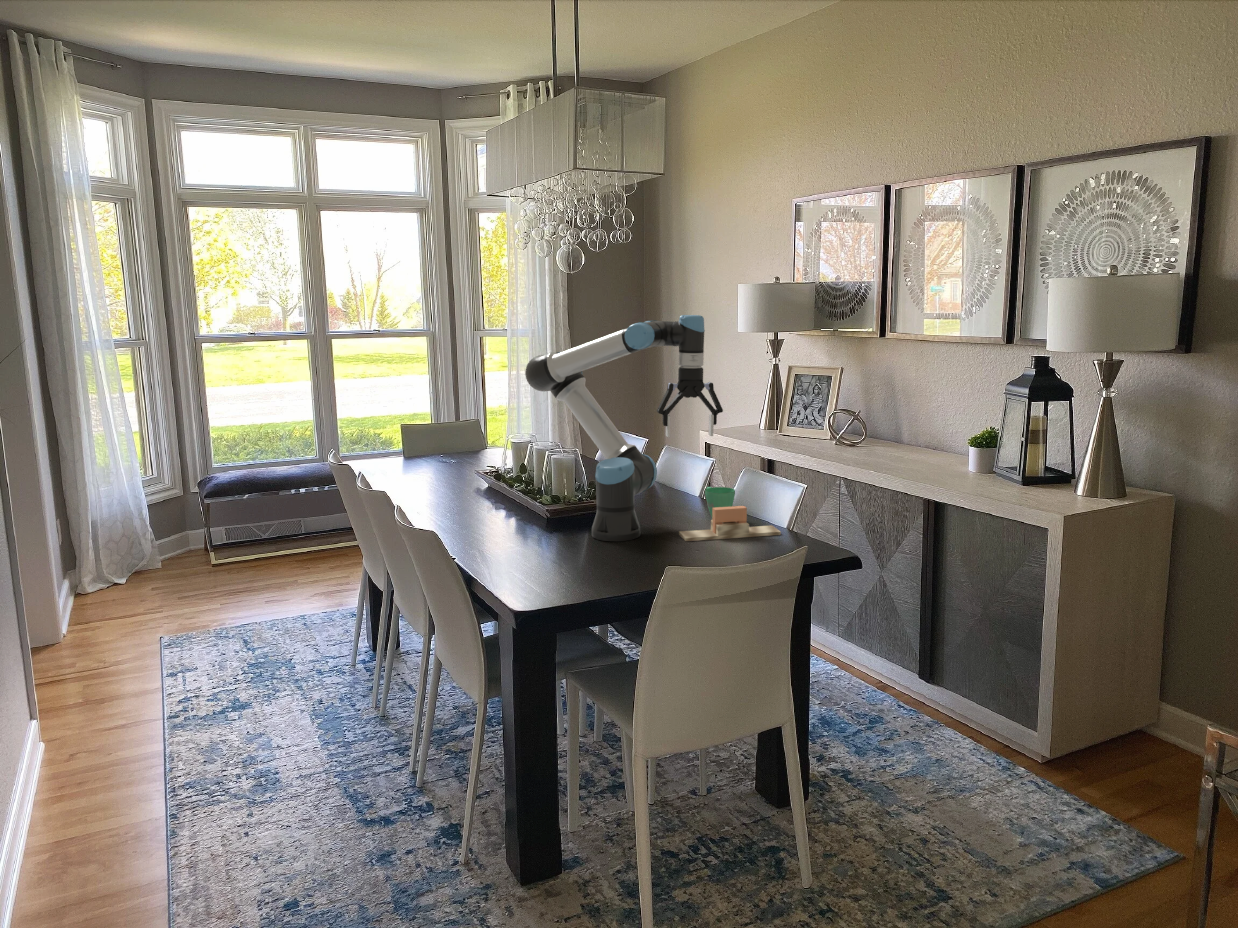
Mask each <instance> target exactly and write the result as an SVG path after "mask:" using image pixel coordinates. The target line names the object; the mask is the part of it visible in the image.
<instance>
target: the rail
mask: <svg viewBox="0 0 1238 928" xmlns="http://www.w3.org/2000/svg"><path fill="white" fill-rule="evenodd" d="M781 533H782V531H780V530H779V529H778V528H777V527H775V526H774V525H771V524H770V525H759V526H758V525H757V526H750V523H748V522H746V523H737V522H736V521H734V522H722V524H718V525H716V534H715V533H714V532H713V520H712V519H710V529H698V530H696V529H695V530H683V531H682V530H681V531H678V535H679V536H680V537H681V538H682V540H684V542H692V541H693V542H694V541H708V540H709V541H710V540H727V539H738V538H740V539H741V538H754V537H757V538H758V537H769V536H781V535H782V534H781Z"/></svg>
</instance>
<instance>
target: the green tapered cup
mask: <svg viewBox="0 0 1238 928" xmlns="http://www.w3.org/2000/svg"><path fill="white" fill-rule="evenodd" d="M735 495H736V489H734V488H731V487H727V486H714V487H712V486H707V487H706V488H705V490H704V500H705V503H706V506H707V509H708V511H709V514H710V517H711V518H712V508H716V507H732V506H734V500H735Z"/></svg>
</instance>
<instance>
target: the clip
mask: <svg viewBox="0 0 1238 928" xmlns="http://www.w3.org/2000/svg"><path fill="white" fill-rule="evenodd" d="M747 509H748V508H747V507H746V506H744V505H737V506H734V505H733V506H732V507H716V508H712V517H711V520H713V532H714V533H715V534H716V525H718V524H722V522H734V521H736V522H737V523H747V521H748V519H747V518H748V517H747V513H748V511H747Z"/></svg>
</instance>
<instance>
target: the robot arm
mask: <svg viewBox="0 0 1238 928" xmlns="http://www.w3.org/2000/svg"><path fill="white" fill-rule="evenodd" d="M705 331H706V330H705V319H704V316H702V315H700V314H682V315H680V316H679V320H677V321H669V320H654V319H653V320H646V321H644V322H641V321H639V322H635V323H632V324H630V325H629V326H628V327H626V328H623V329H621V330H618V331H615V332H612V333H609V334H607V335H604V336H602V337H599V338H596V339H594V340H591V341H588V342H585V343H582V344H580V345H577V346H575V347H572V348H569V349H566V350H564V351H558V352H555V351H552V352H549V353H547V354H546V353H545V354H540V355H537V356H534V357H533V358H531V359H530V360H529V361H528V362H527V365H526V366H525V370H524V371H525V374H524V375H525V379H526V381H527V383H528V385H529V386H530V387H531V388H533V389H534V390H535V391H539V392H551V394H552V395H553V396H554V398H555V400H557V401H560V402H564V404H565V405H566V406H567V408H568V409H569V410H570V412H571V413H572V415H573V416H574V417H575V419H576V420H577V422H578V423H579V424H580V426H581V427H582V428H583V429H584V431H585V432H586V434H587V435H588V437H590V439H591V441H592V442H593V444H594V445H595V446H596V448H597V449H598V450H599V451H600V453H601V454H602V456H603V457H604V458H605V459H604V460H601V461H600V462H598V463H597V464H596V467H595V474H594V476H595V488H596V489H595V490H596V491H595V493H596V494H595V495H596V514H595V517H594V519H593V523H592V526H591V537H592V538H593V539H595V540H598V541H604V542H625V541H631V540H634V539H637V538H639V537H641V533H642V532H641V530H642V529H641V526H640V523H639V519H638V516H637V513H636V511H635V496H636V495H639V494H640V493H641V494H642V493H644V492H646V491H647V490H648V489H650V488H651V487H653V485H654V484H655V482H656V480H657V476H658V467H657V464H656V463H655V461H654V459H653V458H652V457H650V456H649V455H648V454H644V453H641V451H640V450H639V449H638V447H637V445H635V444H629V443H628V442H627V440H626V439H625V438H624V436H623V435H622V433H621V432H620V431H619V430H618V428H617V427H616V425H615V424H614V423H613V421H612V420H611V419H610V418H609V416H608V414H606V412H605V411H604V409H603V408H602V407H601V406H600V404H599V403H598V401H597V400H596V399H595V397H594V396H593V394H592V393H591V392H590V391H589V389H588V387H586V382H587V381H586V380H587V379H586V377H585V376H584V375H583V374H584V372H583V371H586V370H589V369H592V368H595V367H598V366H599V365H600V366H601V365H603V364H606V363H608V362H611V361H613V360H617V359H620V358H623V357H626V356H628V355H631V354H634V353H637V352H639V351H643V350H646V349H649V348H656V347H678V366H680V367H678V372H677V373H678V374H677V375H678V376H677V377H678V379H677V383H672V382H668V383H667V389H666V391H665V393H664V395H663V397H662V399H661V401H660V403H659V405H658V407H657V409H656V413H658V414H660V415H662V425H663V427H665V437H667V438H671V415H670V413H671V412H672V411H673V410H674V408H675V407H676V406H677V405H678V403H680V401H681V400H682V399H683V398H687V399H689V398H693V399H694V398H696V399H697V397H698V398H699V399H700V401H701V402H702V403H703V404H704V405H705V406H706V408H707V409H708V410H709V412H710V413H709V414H708V436H710V437H714V426H716V425H717V421H718V420H717V417H718V415H719V414H720V413H723V412H724V409H723V407H722V405H721V403H720V401H719V398H718V396H717V394H716V392H715V389H714V388H715V387H714V383H713V382H711V381H708V382H706V383H704V367H703V366H704V359H705V357H704V355H705V354H704V353H705V350H704V348H705V347H704V345H705ZM676 389H677V391H678V392H677V393H676V395H675V396H674V397H673V399H672V400H671V401H670V398H671V395H672V394H673V391H675V390H676ZM704 389H705V390H707V391H708V393H709V396H710V398H711V400H712V402H713V404H714V406H715V407H714V406H713V405H712V403H711V402H710V401H709V400H708V399H707V398H706V396H705V395H704V393H703V392H702V391H703V390H704ZM669 401H670V402H669ZM668 402H669V404H668ZM667 404H668V405H667Z"/></svg>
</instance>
